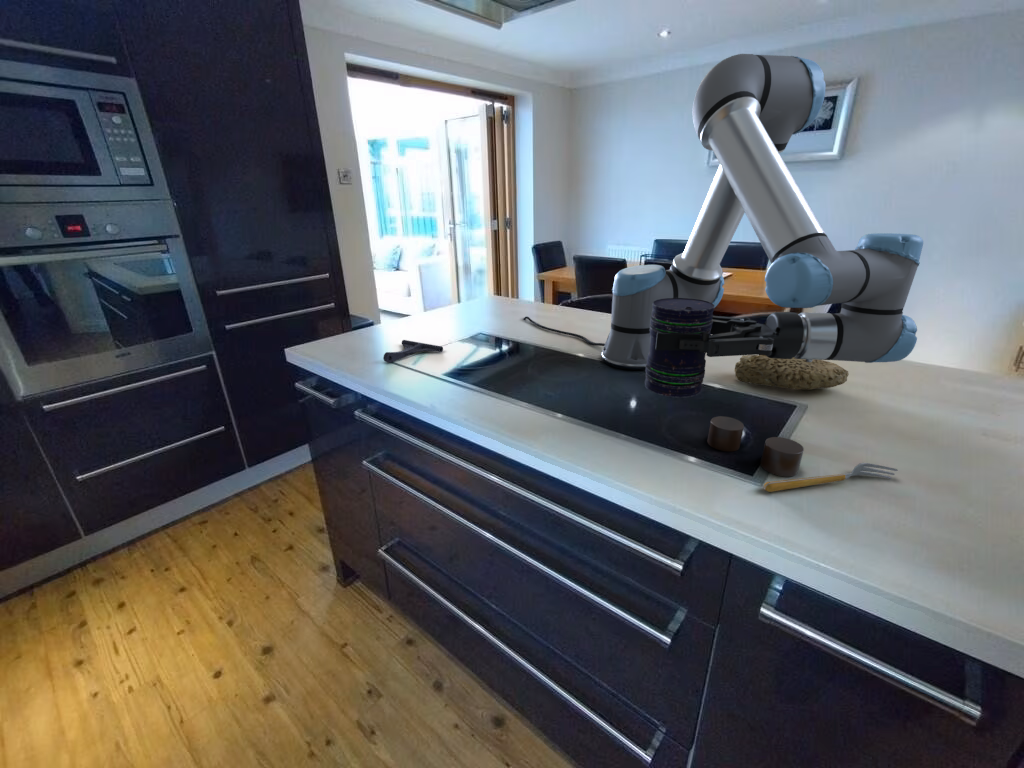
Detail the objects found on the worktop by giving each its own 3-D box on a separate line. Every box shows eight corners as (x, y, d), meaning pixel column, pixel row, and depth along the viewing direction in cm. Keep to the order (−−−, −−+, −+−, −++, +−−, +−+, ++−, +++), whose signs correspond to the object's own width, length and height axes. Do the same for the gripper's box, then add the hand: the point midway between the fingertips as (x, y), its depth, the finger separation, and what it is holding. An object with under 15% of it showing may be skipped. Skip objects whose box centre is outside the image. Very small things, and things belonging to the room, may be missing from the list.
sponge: (732, 391, 97) (845, 395, 84) (732, 356, 96) (846, 354, 83) (746, 383, 107) (849, 385, 94) (746, 351, 106) (850, 349, 93)
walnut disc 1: (701, 442, 75) (704, 421, 73) (717, 433, 78) (721, 413, 76) (729, 455, 71) (733, 433, 70) (745, 445, 74) (749, 424, 72)
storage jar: (638, 376, 83) (645, 298, 78) (690, 376, 83) (702, 297, 77) (652, 398, 74) (661, 311, 69) (711, 397, 74) (725, 310, 68)
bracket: (366, 359, 119) (365, 349, 118) (405, 344, 130) (404, 335, 129) (406, 368, 112) (404, 358, 111) (443, 351, 123) (442, 342, 122)
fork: (772, 487, 60) (899, 468, 63) (764, 477, 62) (888, 459, 64) (766, 499, 62) (890, 480, 64) (758, 489, 63) (880, 470, 66)
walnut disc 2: (754, 466, 68) (759, 443, 67) (770, 455, 71) (775, 433, 69) (788, 481, 64) (794, 457, 63) (803, 469, 67) (809, 446, 65)
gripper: (820, 383, 63) (658, 376, 67) (767, 338, 83) (645, 334, 87) (833, 332, 60) (663, 328, 64) (775, 298, 80) (649, 297, 84)
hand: (653, 332), depth 76 cm, fingers closed on storage jar, 10 cm apart
